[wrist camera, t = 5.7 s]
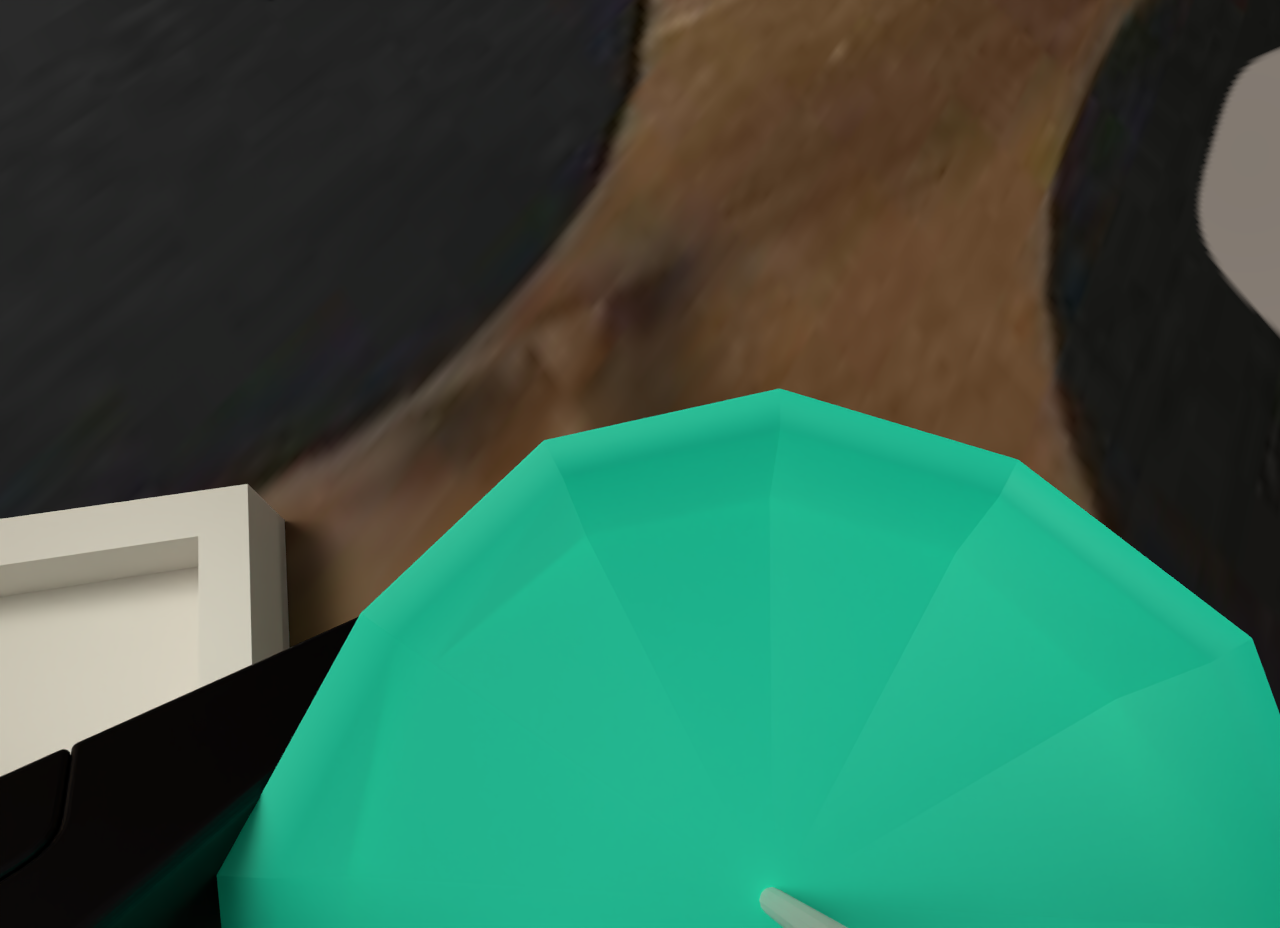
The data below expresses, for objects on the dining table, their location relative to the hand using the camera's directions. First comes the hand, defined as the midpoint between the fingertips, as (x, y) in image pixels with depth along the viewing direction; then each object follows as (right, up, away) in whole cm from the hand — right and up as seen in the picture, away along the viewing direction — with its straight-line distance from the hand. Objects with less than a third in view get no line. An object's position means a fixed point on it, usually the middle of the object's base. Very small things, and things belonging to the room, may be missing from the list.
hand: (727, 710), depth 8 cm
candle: (0, -4, +6) cm, 7 cm away
